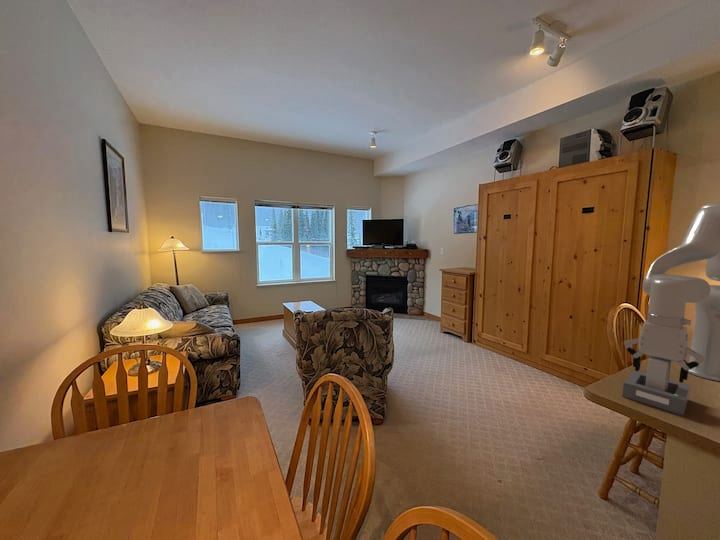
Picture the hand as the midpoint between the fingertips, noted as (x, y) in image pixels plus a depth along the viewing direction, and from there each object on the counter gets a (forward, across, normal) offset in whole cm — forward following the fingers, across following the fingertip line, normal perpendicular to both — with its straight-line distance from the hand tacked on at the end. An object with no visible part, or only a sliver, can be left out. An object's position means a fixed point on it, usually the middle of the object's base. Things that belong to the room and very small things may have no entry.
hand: (658, 375), depth 93 cm
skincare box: (+7, 0, 0) cm, 7 cm away
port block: (+7, 0, +1) cm, 7 cm away
